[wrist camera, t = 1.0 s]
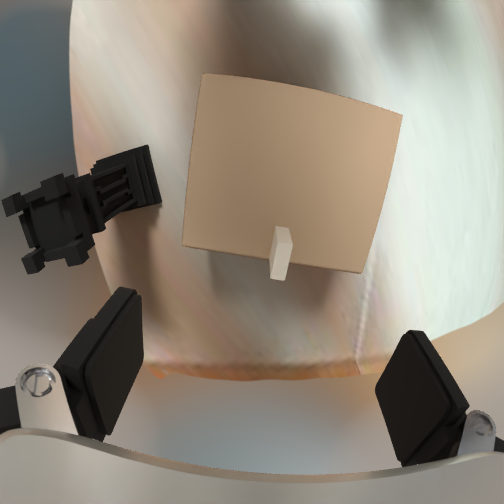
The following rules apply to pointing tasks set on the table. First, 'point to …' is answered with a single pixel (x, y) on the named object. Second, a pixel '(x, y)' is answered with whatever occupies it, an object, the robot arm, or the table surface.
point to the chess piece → (82, 206)
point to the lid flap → (287, 173)
